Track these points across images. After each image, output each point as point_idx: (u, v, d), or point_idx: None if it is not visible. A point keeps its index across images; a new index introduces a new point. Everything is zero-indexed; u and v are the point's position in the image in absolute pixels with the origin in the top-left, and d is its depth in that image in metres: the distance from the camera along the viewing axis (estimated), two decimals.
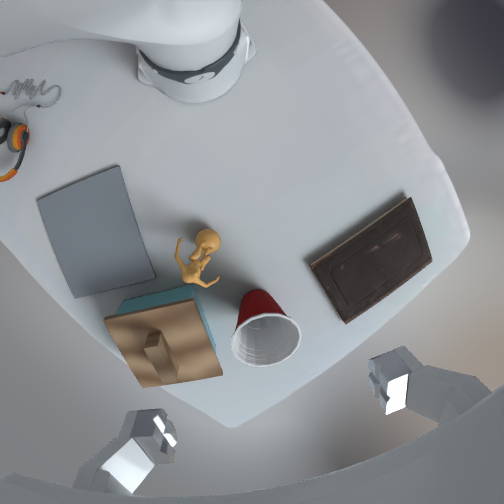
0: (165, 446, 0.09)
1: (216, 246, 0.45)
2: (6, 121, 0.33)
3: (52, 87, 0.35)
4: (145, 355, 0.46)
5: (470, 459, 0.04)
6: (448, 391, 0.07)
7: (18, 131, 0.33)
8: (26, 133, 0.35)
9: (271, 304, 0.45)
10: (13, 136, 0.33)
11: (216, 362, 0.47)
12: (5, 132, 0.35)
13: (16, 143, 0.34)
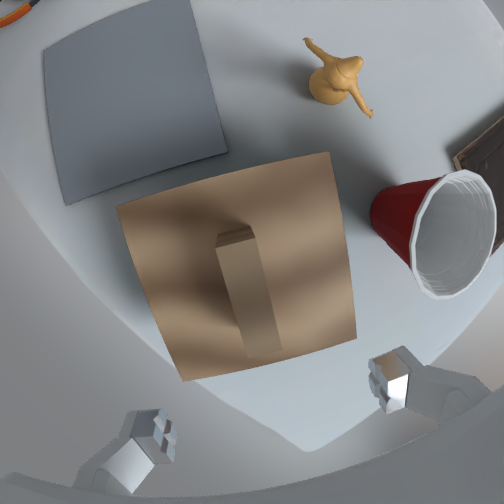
0: (165, 446, 0.09)
1: None
2: None
3: None
4: (201, 297, 0.22)
5: (470, 459, 0.04)
6: (448, 391, 0.07)
7: None
8: None
9: (442, 184, 0.22)
10: None
11: (352, 307, 0.23)
12: None
13: None
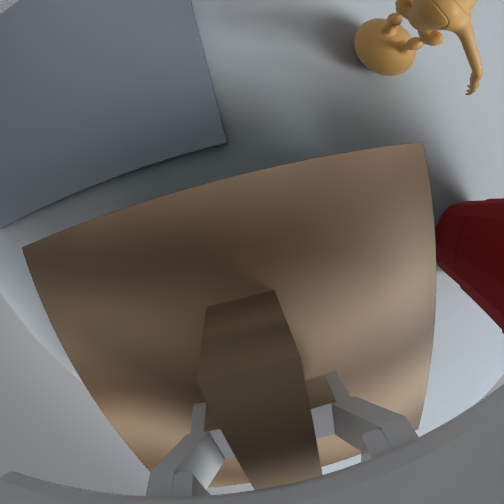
0: None
1: (414, 50, 0.12)
2: None
3: None
4: (182, 405, 0.11)
5: (470, 459, 0.04)
6: (371, 428, 0.07)
7: None
8: None
9: None
10: None
11: (422, 396, 0.12)
12: None
13: None
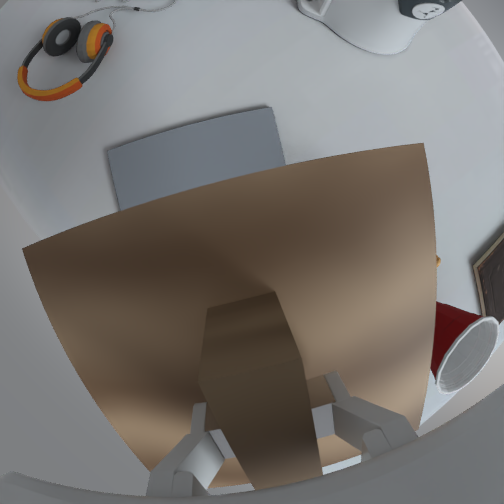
0: None
1: None
2: (77, 22, 0.21)
3: None
4: (183, 406, 0.11)
5: (470, 459, 0.04)
6: (371, 428, 0.07)
7: (101, 27, 0.20)
8: (111, 35, 0.22)
9: (465, 311, 0.28)
10: (91, 31, 0.20)
11: (422, 397, 0.12)
12: (69, 40, 0.22)
13: (93, 42, 0.21)
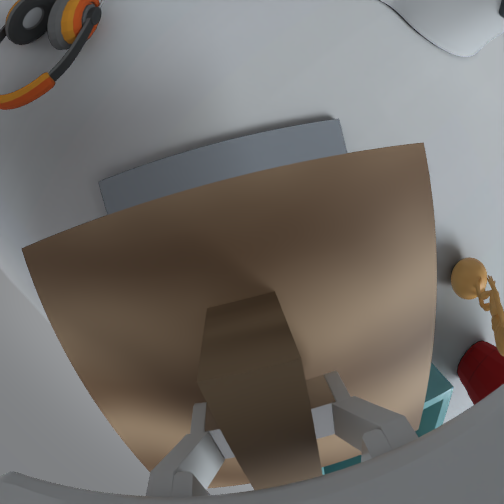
0: None
1: (485, 286, 0.21)
2: None
3: None
4: (183, 406, 0.11)
5: (470, 459, 0.04)
6: (371, 428, 0.07)
7: None
8: (98, 9, 0.13)
9: None
10: (68, 4, 0.11)
11: (422, 397, 0.12)
12: (42, 21, 0.13)
13: (71, 19, 0.12)
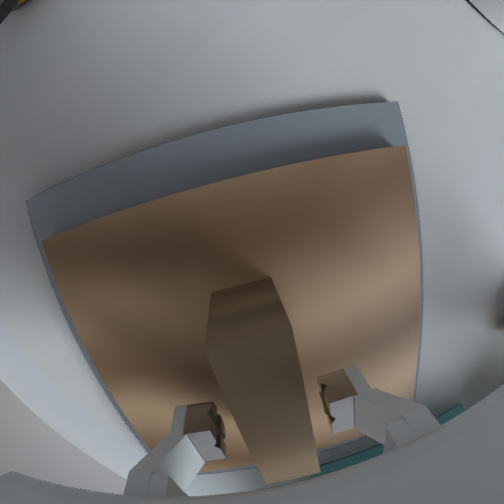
0: (218, 441, 0.09)
1: None
2: None
3: None
4: (188, 386, 0.12)
5: (470, 459, 0.04)
6: (393, 419, 0.07)
7: None
8: None
9: None
10: None
11: (412, 382, 0.14)
12: None
13: None
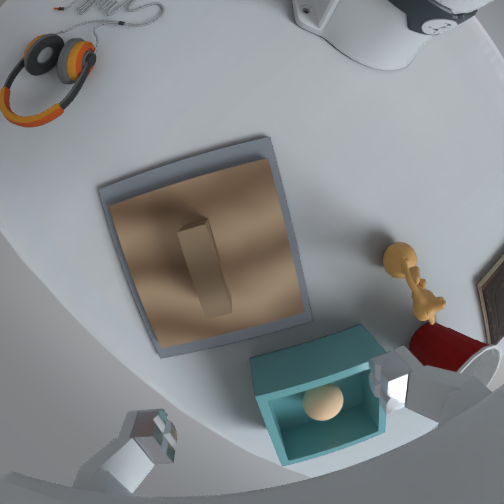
0: (165, 446, 0.09)
1: (415, 266, 0.28)
2: (59, 38, 0.20)
3: (149, 4, 0.22)
4: (173, 274, 0.28)
5: (470, 459, 0.04)
6: (448, 391, 0.07)
7: (82, 46, 0.19)
8: (93, 54, 0.21)
9: None
10: (72, 51, 0.19)
11: (296, 284, 0.29)
12: (52, 57, 0.21)
13: (74, 64, 0.20)
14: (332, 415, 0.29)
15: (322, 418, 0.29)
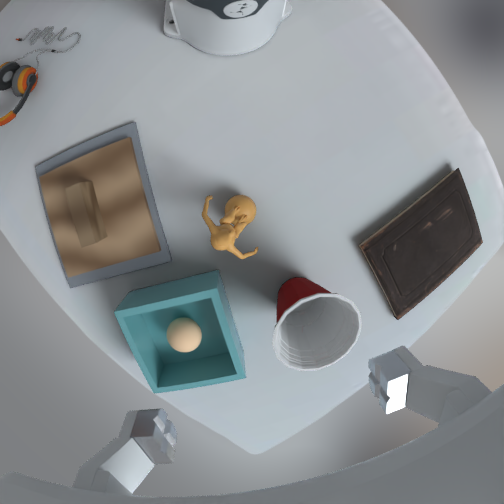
0: (165, 446, 0.09)
1: (251, 214, 0.36)
2: (16, 64, 0.27)
3: (72, 34, 0.29)
4: (73, 221, 0.36)
5: (470, 459, 0.04)
6: (448, 391, 0.07)
7: (26, 71, 0.27)
8: (34, 76, 0.28)
9: (321, 288, 0.35)
10: (20, 76, 0.26)
11: (151, 228, 0.37)
12: (13, 77, 0.29)
13: (21, 84, 0.27)
14: (186, 346, 0.37)
15: (178, 348, 0.37)
